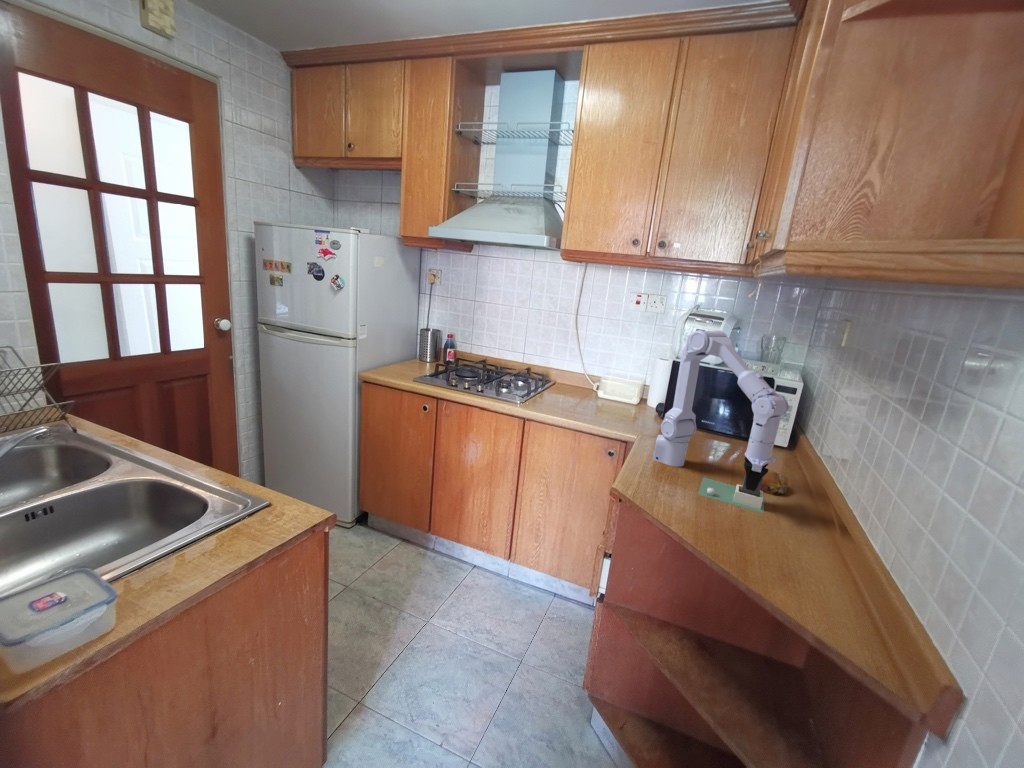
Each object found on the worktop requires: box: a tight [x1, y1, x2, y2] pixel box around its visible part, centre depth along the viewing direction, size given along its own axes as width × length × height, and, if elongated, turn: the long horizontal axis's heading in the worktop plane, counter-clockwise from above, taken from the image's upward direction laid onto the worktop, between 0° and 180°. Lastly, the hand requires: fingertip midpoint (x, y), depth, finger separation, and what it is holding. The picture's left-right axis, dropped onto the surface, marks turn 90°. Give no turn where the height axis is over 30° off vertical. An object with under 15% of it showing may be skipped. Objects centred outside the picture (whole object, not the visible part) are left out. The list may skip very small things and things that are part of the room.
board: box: [697, 476, 765, 514], centre depth 123 cm, size 16×13×2 cm
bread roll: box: [760, 468, 788, 497], centre depth 130 cm, size 10×10×8 cm
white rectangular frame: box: [733, 483, 764, 509], centre depth 120 cm, size 6×5×3 cm
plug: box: [742, 472, 763, 496], centre depth 118 cm, size 4×3×6 cm
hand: (750, 487), depth 119 cm, fingers closed on plug, 3 cm apart
